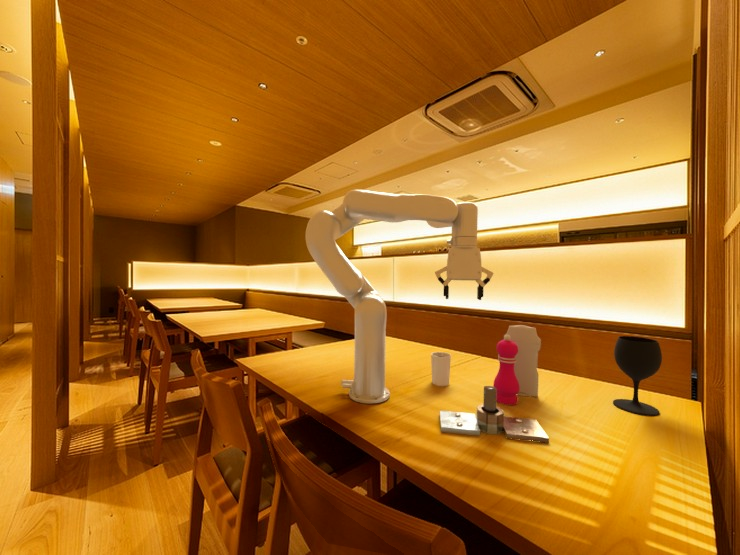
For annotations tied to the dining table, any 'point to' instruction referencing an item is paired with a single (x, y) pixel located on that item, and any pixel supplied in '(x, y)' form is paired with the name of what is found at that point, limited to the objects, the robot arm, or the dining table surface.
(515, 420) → the hinge
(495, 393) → the hinge pin
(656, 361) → the wine glass
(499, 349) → the pepper mill
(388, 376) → the dining table surface
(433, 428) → the dining table surface
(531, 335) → the beige upright panel
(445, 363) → the paper coffee cup
